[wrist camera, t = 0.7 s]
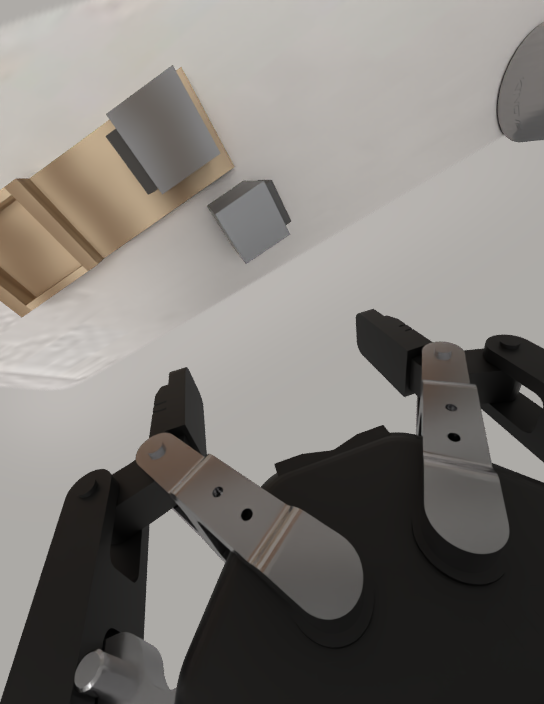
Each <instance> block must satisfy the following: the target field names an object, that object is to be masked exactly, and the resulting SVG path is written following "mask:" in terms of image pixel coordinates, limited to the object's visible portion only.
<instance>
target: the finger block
mask: <svg viewBox="0 0 544 704" xmlns="http://www.w3.org/2000/svg"><path fill="white" fill-rule="evenodd" d="M207 207H208V208H209V210H210V211H211V213H212V214H213V216H214V218H215V219H216V221H217V222H218V224H219V226H220V227H221V229H222V230H223V232H224V234H225V235H226V237H227V238H228V240H229V242H230V243H231V245H232V246H233V247H234V249H235V250H236V251H237V253H238V254H239V255H240V257H241V258H242V259H243V261H244V262H245V263H246V264H247V263H248V262H250V261H251V260H253V259H254V258H256V257H257V256H259V255H260V254H261V253H263V252H264V251H266V250H267V249H269V248H270V247H272V246H273V245H275V244H276V243H278V242H279V241H281V240H282V239H284V238H285V237H287V236H288V235H290V233H289V231H288V229H287V227H286V225H287V224H288V223H290V222H291V220H290V218H289V215H288V213H287V211H286V209H285V207H284V205H283V203H282V201H281V199H280V196H279V194H278V192H277V190H276V188H275V186H274V184H273V182H272V180H258V181H242V182H241V183H239V184H238V185H237V186H235V187H234V188H232V189H231V190H229V191H228V192H226V193H225V194H224V195H222V196H221V197H219V198H218V199H216V200H215V201H214V202H212V203H211V204H209V205H208V206H207Z"/></svg>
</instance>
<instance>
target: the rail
mask: <svg viewBox="0 0 544 704" xmlns="http://www.w3.org/2000/svg"><path fill="white" fill-rule="evenodd" d="M106 115H107V117H108V118H109V119H110V120H108V121H107V122H106V123H104V124H103V125H102V126H100V127H99V128H97V129H96V130H95V131H93V132H92V133H91V134H89V135H88V136H87V137H85V138H84V139H83V140H81V141H80V142H78V143H77V144H76V145H74V146H73V147H72V148H70V149H69V150H68V151H66V152H65V153H64V154H62V155H61V156H59V157H58V158H57V159H55V160H54V161H53V162H51V163H50V164H49V165H47V166H46V167H44V168H43V169H42V170H40V171H39V172H38V173H36V174H35V175H34V176H32V177H31V178H30V179H15V180H13V181H12V182H11V183H9V184H8V185H7V186H5V187H4V188H2V189H1V190H0V301H1V302H3V303H4V304H5V305H6V306H8V307H9V308H10V309H12V310H13V311H14V312H15V313H17V314H18V315H19V316H21V317H23V316H25V315H26V314H27V313H29V312H30V311H32V310H33V309H35V308H36V307H37V306H39V305H40V304H42V303H43V302H45V301H46V300H47V299H49V298H50V297H52V296H53V295H55V294H56V293H57V292H59V291H60V290H62V289H63V288H65V287H66V286H68V285H69V284H70V283H72V282H73V281H75V280H76V279H78V278H79V277H80V276H82V275H83V274H85V273H86V272H88V271H89V270H90V269H92V268H93V267H95V266H96V265H98V264H99V263H100V262H101V261H102V260H103V259H104V258H105V257H107V256H108V255H109V254H111V253H112V252H114V251H115V250H117V249H118V248H119V247H121V246H122V245H124V244H125V243H127V242H128V241H129V240H131V239H132V238H134V237H135V236H137V235H138V234H139V233H141V232H142V231H144V230H145V229H147V228H148V227H149V226H151V225H152V224H154V223H155V222H157V221H158V220H159V219H161V218H162V217H164V216H165V215H167V214H168V213H169V212H171V211H172V210H174V209H175V208H177V207H178V206H179V205H181V204H182V203H184V202H185V201H187V200H188V199H189V198H191V197H192V196H194V195H195V194H197V193H198V192H199V191H201V190H202V189H204V188H205V187H207V186H208V185H209V184H211V183H212V182H214V181H215V180H217V179H218V178H219V177H221V176H222V175H224V174H225V173H227V172H228V171H230V170H231V169H232V168H234V165H233V163H232V161H231V159H230V158H229V156H228V154H227V152H226V150H225V148H224V146H223V144H222V143H221V141H220V139H219V137H218V135H217V133H216V131H215V129H214V128H213V126H212V124H211V122H210V120H209V118H208V116H207V114H206V113H205V111H204V109H203V107H202V105H201V103H200V101H199V99H198V97H197V96H196V94H195V92H194V90H193V88H192V86H191V84H190V82H189V81H188V79H187V77H186V75H185V73H184V71H183V69H182V67H180V68H179V69H178V70H175V68H174V67H173V65H172V66H171V67H169V68H168V69H167V70H165V71H164V72H163V73H161V74H160V75H158V76H157V77H156V78H154V79H153V80H152V81H150V82H149V83H148V84H146V85H145V86H144V87H142V88H141V89H140V90H138V91H137V92H135V93H134V94H133V95H131V96H130V97H129V98H127V99H126V100H125V101H123V102H122V103H121V104H119V105H118V106H116V107H115V108H114V109H112V110H111V111H110V112H108V113H107V114H106Z"/></svg>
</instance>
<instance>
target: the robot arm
mask: <svg viewBox="0 0 544 704" xmlns="http://www.w3.org/2000/svg"><path fill="white" fill-rule="evenodd" d="M498 118H499V124H500V127H501V129H502V132H503V133H504V134H505V136H506V137H507V138H509V139H510V140H512V141H515V142H527V141H535V140H544V22H543V23H542V24H540V25H539V26H537V27H536V28H535V29H534V30H533V31H532V32H531V33H530V34H529V35H528V36H527V37H526V38H525V40H524V41H523V42H522V44H521V45H520V46H519V48H518V49H517V51H516V53H515V54H514V56H513V58H512V59H511V61H510V64H509V66H508V68H507V70H506V73H505V75H504V79H503V82H502V85H501V89H500V94H499V100H498ZM356 332H357V345H358V348H359V350H360V352H361V354H362V355H363V356H364V357H365V358H366V359H367V360H368V361H369V362H370V363H371V364H372V365H373V366H374V367H375V368H376V369H377V370H378V371H379V372H380V373H381V374H382V375H383V376H384V377H385V378H386V379H387V380H388V381H389V382H390V383H391V384H392V385H393V386H394V387H395V388H396V389H397V390H398V391H399V392H400V393H401V394H402V395H403V396H404V397H406V396H409V395H412V394H414V393H415V394H416V395H417V414H416V415H417V416H416V417H417V418H416V435H415V434H409V433H389V432H388V431H387V429H386V428H385V427H384V425H382V426H379V427H376V428H373V429H371V430H368V431H365V432H362V433H359V434H357V435H355V436H354V437H352V438H351V439H350V440H348V441H346V442H345V443H343V444H342V445H340V446H339V447H337V448H336V449H334V450H331V451H323V452H315V453H307V454H301V455H298V456H295V457H292V458H290V459H287V460H284V461H281V462H278V463H276V464H275V468H276V471H277V473H276V474H275V475H273V476H272V477H270V478H269V479H268V480H267V481H266V482H265V483H264V484H263V485H262V486H261V487H260V486H258V485H257V484H255V483H254V482H252V481H251V480H249V479H248V478H246V477H245V476H243V475H242V474H240V473H239V472H237V471H236V470H234V469H233V468H231V467H230V466H228V465H227V464H225V463H224V462H222V461H221V460H219V459H218V458H216V457H215V456H213V455H211V454H208V455H207V452H206V439H205V424H204V410H203V403H202V398H201V395H200V393H199V391H198V388H197V386H196V384H195V382H194V380H193V378H192V376H191V373H190V371H189V369H188V368H187V367H185V368H182V369H179V370H176V371H172V372H170V373H169V383H168V385H166V386H162V387H161V388H160V389H159V391H158V393H157V394H156V396H155V401H154V408H153V415H152V422H151V428H150V435H149V439H148V440H146V441H145V442H144V443H143V444H142V445H141V446H140V448H139V449H138V451H137V454H136V460H135V461H133V462H132V463H130V464H129V465H127V466H125V467H124V468H122V469H121V470H119V471H117V472H116V473H114V474H113V475H112V474H111V473H110V472H109V471H107V470H105V469H99V470H95V471H92V472H90V473H88V474H86V475H85V476H83V477H82V478H81V479H79V480H78V481H77V482H76V483H75V484H74V485H73V487H71V489H70V490H69V492H68V494H67V496H66V498H65V501H64V504H63V508H62V511H61V514H60V517H59V521H58V523H57V526H56V529H55V533H54V536H53V539H52V542H51V545H50V548H49V551H48V555H47V558H46V561H45V564H44V567H43V570H42V573H41V576H40V580H39V583H38V586H37V589H36V592H35V595H34V599H33V602H32V605H31V608H30V611H29V614H28V617H27V620H26V623H25V627H24V630H23V633H22V636H21V639H20V642H19V645H18V649H17V652H16V655H15V658H14V661H13V664H12V667H11V670H10V673H9V677H8V680H7V683H6V686H5V689H4V692H3V695H2V699H1V702H0V704H544V483H543V482H540V481H538V480H535V479H532V478H530V477H527V476H525V475H522V474H519V473H517V472H514V471H512V470H509V469H506V468H504V467H501V466H498V465H496V464H493V463H491V458H490V453H489V447H488V443H487V438H486V432H485V427H484V422H483V418H482V412H481V409H483V411H485V412H486V413H487V414H488V415H489V416H491V417H492V418H493V419H494V420H495V421H496V422H498V424H500V425H501V426H502V427H503V428H504V429H506V430H507V431H508V432H509V433H510V434H511V435H513V436H514V437H515V438H516V439H517V440H518V441H519V442H520V443H522V444H523V445H524V446H525V447H526V448H528V449H529V450H530V451H531V452H532V453H533V454H535V455H536V456H537V457H538V458H539V459H540V460H542V461H543V462H544V349H543V348H541V347H539V346H537V345H536V344H534V343H532V342H530V341H528V340H526V339H524V338H521V337H517V336H513V335H496V336H492V337H490V338H488V339H487V340H486V343H485V348H484V349H475V350H465V351H464V350H463V349H462V348H461V347H459V346H457V345H455V344H453V343H449V342H431V341H430V340H428V339H427V338H425V337H424V336H423V335H421V334H419V333H418V332H417V331H415V330H414V329H413V330H412V328H411V327H409V326H408V325H405V324H404V323H403V322H402V321H400V320H399V319H396V318H393V317H390V316H383V315H382V314H380V313H379V312H377V311H376V310H374V309H371V310H368V311H365V312H361V313H358V314H357V315H356ZM521 385H524V386H525V387H527V388H528V389H530V390H531V391H533V392H534V393H536V394H537V395H538V396H539V397H540V398H541V400H542V402H543V408H541V407H540V406H538V405H537V404H536V403H534V402H533V401H531V400H530V399H529V398H527V397H526V396H524V395H523V394H521V393H520V392H519V390H520V387H521ZM170 509H173V510H174V511H175V512H176V513H177V514H178V515H179V516H180V517H181V518H182V519H183V520H184V521H185V522H186V523H187V524H188V525H189V526H190V527H191V528H192V529H194V531H195V532H196V533H198V535H200V536H201V537H202V539H204V541H205V542H206V543H207V544H208V545H209V546H210V548H211V549H212V550H213V551H214V552H215V553H216V554H217V555H218V556H219V557H220V558H221V559H222V560H223V561H224V562H225V565H224V567H223V569H222V572H221V574H220V577H219V579H218V581H217V584H216V586H215V588H214V591H213V593H212V595H211V598H210V600H209V603H208V605H207V607H206V609H205V612H204V614H203V617H202V619H201V621H200V624H199V626H198V628H197V631H196V633H195V636H194V638H193V640H192V643H191V645H190V647H189V649H188V652H187V654H186V656H185V659H184V662H183V665H182V668H181V671H180V675H179V679H178V683H177V688H175V689H173V690H170V689H169V687H168V686H167V683H166V680H165V676H164V668H163V661H162V657H161V655H160V653H159V651H158V650H157V648H155V647H154V646H153V645H151V644H149V643H148V642H146V641H144V620H145V600H146V581H147V561H148V541H149V524H150V523H152V522H153V521H155V520H156V519H158V518H159V517H160V516H162V515H163V514H165V513H166V512H167V511H169V510H170Z"/></svg>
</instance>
